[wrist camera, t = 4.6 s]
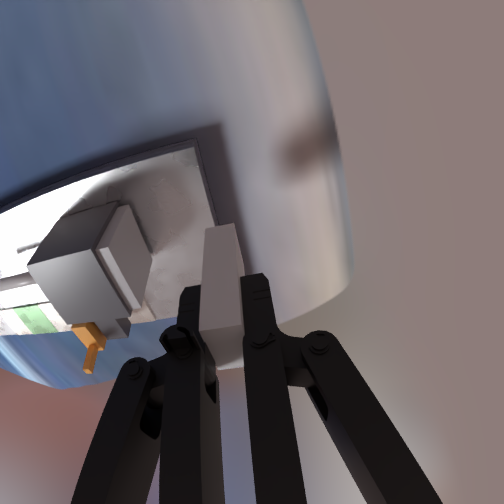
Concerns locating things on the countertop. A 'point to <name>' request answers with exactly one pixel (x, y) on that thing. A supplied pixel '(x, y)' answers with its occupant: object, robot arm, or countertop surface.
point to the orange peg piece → (90, 342)
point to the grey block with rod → (91, 268)
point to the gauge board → (146, 216)
